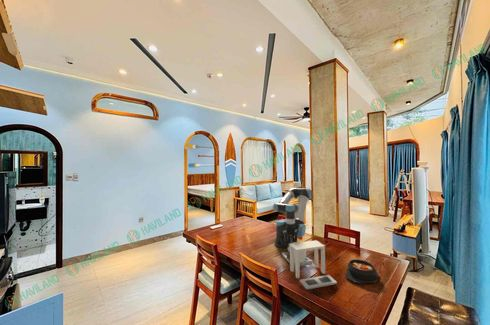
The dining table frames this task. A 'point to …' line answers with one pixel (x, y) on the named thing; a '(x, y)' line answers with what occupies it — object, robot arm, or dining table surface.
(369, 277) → the casserole
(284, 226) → the robot arm
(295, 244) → the open rectangular frame
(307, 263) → the picture frame
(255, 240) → the dining table surface
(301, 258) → the jar
